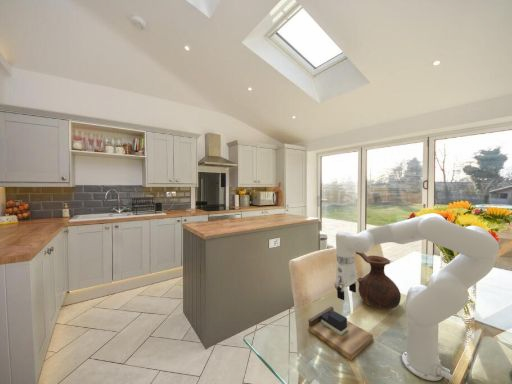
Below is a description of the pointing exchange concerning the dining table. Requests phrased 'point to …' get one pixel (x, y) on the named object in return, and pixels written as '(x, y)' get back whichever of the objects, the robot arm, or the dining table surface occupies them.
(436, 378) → the robot arm
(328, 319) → the black block white base
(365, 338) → the sharpening stone holder
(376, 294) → the jug
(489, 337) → the dining table surface
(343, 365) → the dining table surface
